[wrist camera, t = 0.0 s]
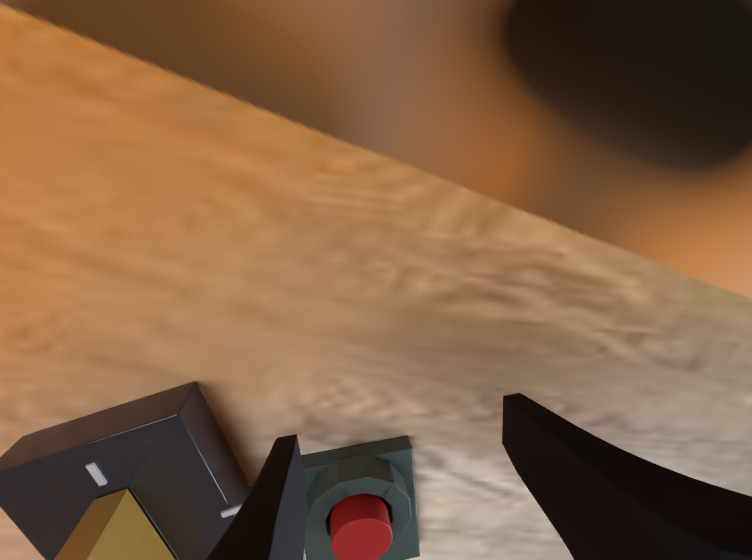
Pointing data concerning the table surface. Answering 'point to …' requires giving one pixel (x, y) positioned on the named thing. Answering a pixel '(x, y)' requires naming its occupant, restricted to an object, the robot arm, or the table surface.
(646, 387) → the table surface
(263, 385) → the table surface
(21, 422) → the table surface
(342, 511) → the button
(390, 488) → the button box
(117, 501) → the gold rectangular bar
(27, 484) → the block
